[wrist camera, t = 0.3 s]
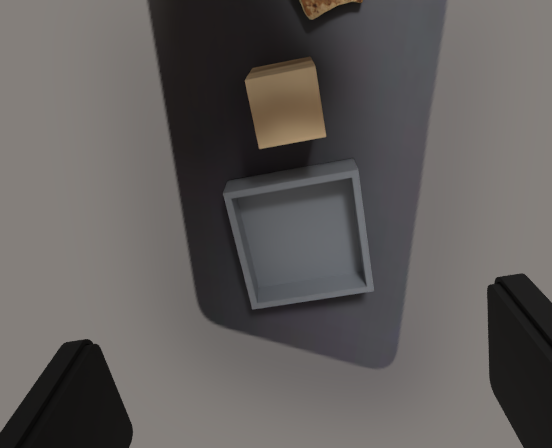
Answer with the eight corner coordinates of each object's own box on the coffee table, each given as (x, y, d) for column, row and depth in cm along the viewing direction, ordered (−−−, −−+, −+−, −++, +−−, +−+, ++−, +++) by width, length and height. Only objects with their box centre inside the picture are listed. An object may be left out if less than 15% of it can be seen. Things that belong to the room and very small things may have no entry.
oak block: (252, 68, 41) (244, 80, 33) (310, 56, 40) (315, 66, 33) (264, 125, 42) (259, 149, 35) (319, 115, 42) (326, 136, 35)
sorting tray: (227, 180, 45) (222, 193, 41) (353, 157, 43) (358, 169, 40) (254, 290, 49) (252, 309, 46) (368, 272, 48) (374, 291, 45)
